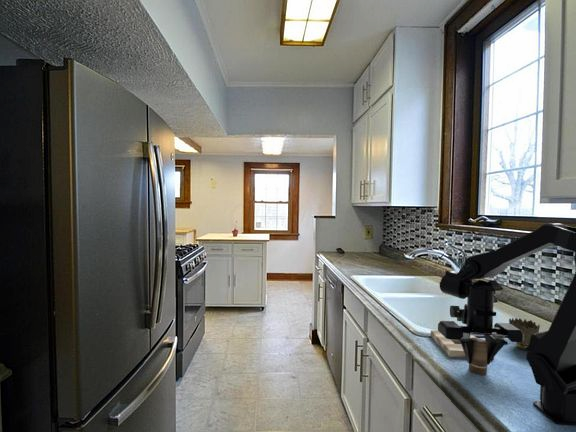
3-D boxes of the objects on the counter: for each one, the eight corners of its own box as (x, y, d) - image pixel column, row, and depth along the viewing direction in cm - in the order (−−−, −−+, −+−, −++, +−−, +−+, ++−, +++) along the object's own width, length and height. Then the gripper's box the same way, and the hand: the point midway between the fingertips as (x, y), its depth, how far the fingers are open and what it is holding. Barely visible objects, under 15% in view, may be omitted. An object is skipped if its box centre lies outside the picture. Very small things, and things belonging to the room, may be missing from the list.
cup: (544, 355, 90) (545, 328, 89) (515, 352, 91) (516, 325, 91) (529, 343, 97) (530, 318, 97) (503, 341, 98) (504, 316, 98)
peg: (490, 375, 78) (491, 344, 78) (473, 375, 79) (474, 344, 78) (481, 367, 82) (482, 337, 82) (465, 366, 83) (466, 337, 82)
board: (493, 359, 87) (494, 352, 87) (449, 357, 88) (449, 350, 88) (468, 337, 101) (468, 331, 101) (430, 336, 102) (430, 330, 102)
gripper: (498, 296, 87) (496, 350, 88) (430, 294, 89) (429, 347, 89) (526, 309, 76) (523, 371, 77) (447, 306, 77) (446, 367, 78)
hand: (477, 363), depth 80 cm, fingers closed on peg, 4 cm apart
